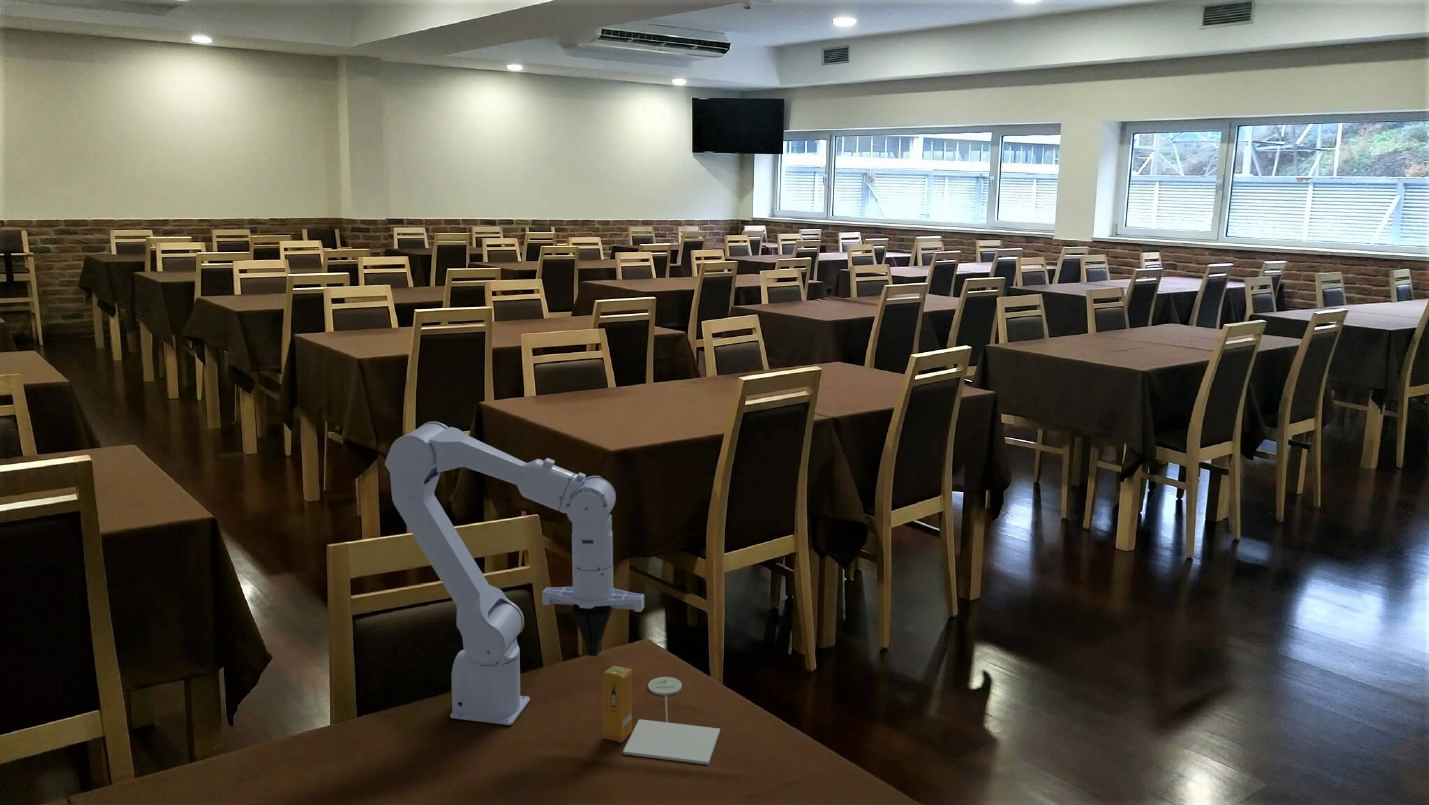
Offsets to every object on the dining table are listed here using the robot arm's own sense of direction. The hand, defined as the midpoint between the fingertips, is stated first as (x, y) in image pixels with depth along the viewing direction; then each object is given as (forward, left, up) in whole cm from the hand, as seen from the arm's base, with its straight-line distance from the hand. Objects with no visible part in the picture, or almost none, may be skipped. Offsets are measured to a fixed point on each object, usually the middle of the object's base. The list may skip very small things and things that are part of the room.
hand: (594, 653), depth 150 cm
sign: (+9, +7, -11) cm, 16 cm away
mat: (+13, -4, -10) cm, 17 cm away
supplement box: (+5, -4, -11) cm, 12 cm away
